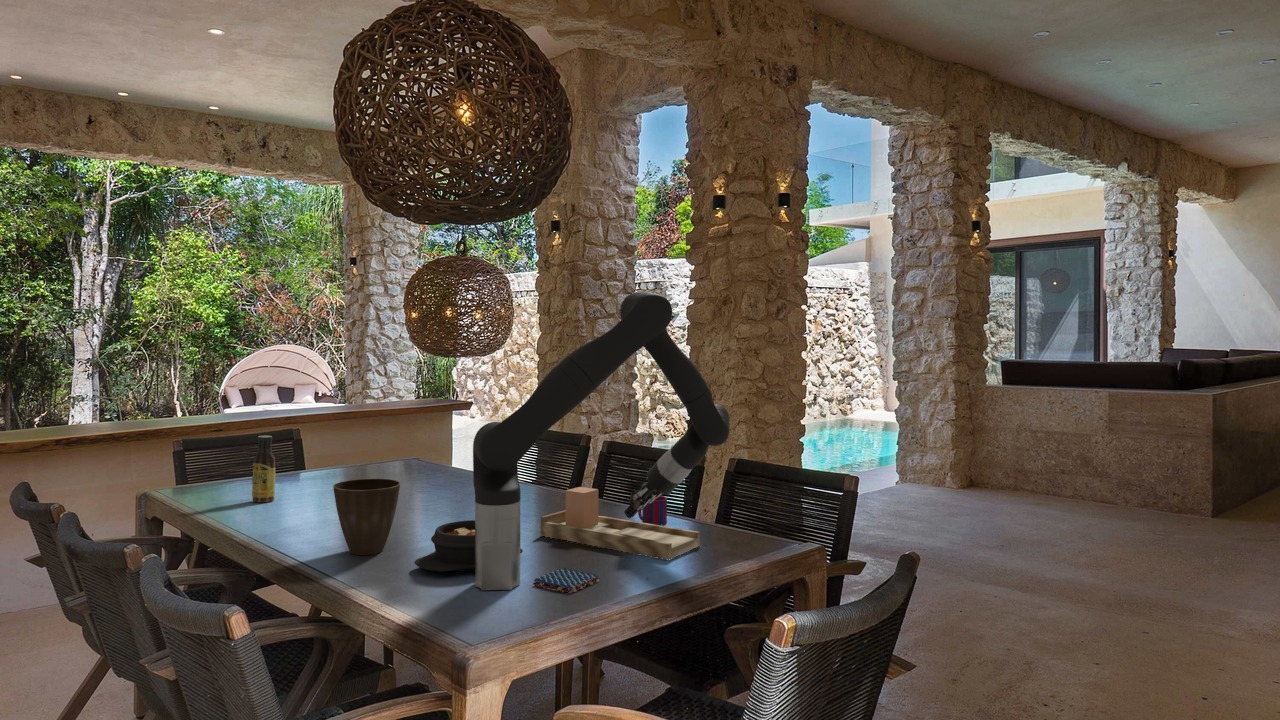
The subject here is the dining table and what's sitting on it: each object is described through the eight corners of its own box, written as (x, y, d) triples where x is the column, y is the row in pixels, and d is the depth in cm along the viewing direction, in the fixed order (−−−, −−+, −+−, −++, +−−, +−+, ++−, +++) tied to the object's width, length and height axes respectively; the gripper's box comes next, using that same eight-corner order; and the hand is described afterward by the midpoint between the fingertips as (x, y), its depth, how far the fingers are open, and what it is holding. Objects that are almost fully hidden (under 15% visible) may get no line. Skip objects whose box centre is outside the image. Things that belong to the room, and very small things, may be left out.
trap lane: (699, 546, 200) (699, 526, 199) (668, 560, 188) (668, 538, 187) (575, 525, 221) (575, 506, 220) (540, 536, 209) (540, 516, 208)
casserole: (444, 586, 168) (444, 545, 168) (397, 567, 181) (397, 529, 181) (540, 562, 186) (540, 525, 186) (491, 546, 199) (491, 512, 199)
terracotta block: (598, 523, 212) (598, 489, 211) (584, 528, 207) (584, 493, 206) (579, 520, 215) (580, 486, 215) (565, 525, 210) (565, 490, 210)
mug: (671, 523, 224) (672, 498, 224) (645, 528, 217) (645, 503, 217) (654, 518, 229) (654, 494, 229) (628, 524, 222) (628, 499, 222)
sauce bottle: (247, 502, 246) (246, 436, 246) (262, 498, 252) (262, 434, 252) (265, 504, 244) (264, 437, 244) (280, 500, 250) (279, 435, 250)
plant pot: (377, 539, 204) (377, 476, 204) (413, 550, 195) (412, 483, 194) (321, 552, 193) (320, 484, 192) (356, 564, 183) (356, 492, 183)
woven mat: (529, 588, 168) (529, 578, 168) (561, 575, 177) (561, 566, 177) (570, 597, 163) (570, 587, 163) (601, 583, 172) (601, 574, 172)
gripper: (675, 454, 202) (633, 498, 209) (646, 461, 191) (603, 507, 198) (693, 478, 199) (651, 521, 207) (665, 487, 188) (621, 532, 196)
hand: (627, 514), depth 202 cm, fingers closed
